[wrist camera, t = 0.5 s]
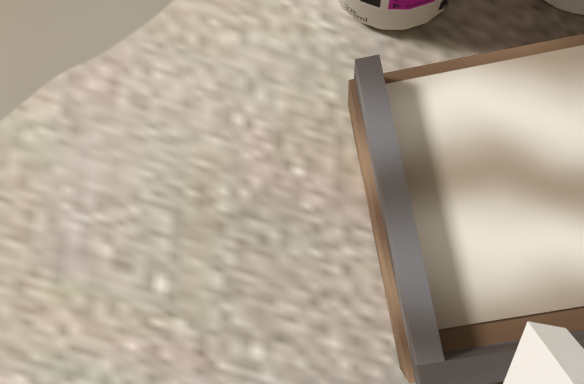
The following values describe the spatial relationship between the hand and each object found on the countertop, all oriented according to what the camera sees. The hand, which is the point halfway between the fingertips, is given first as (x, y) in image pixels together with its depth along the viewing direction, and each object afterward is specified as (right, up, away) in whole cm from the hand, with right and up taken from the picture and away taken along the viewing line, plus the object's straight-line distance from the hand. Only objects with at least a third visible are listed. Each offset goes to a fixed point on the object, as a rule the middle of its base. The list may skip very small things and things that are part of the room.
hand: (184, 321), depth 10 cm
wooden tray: (+14, +2, +20) cm, 24 cm away
